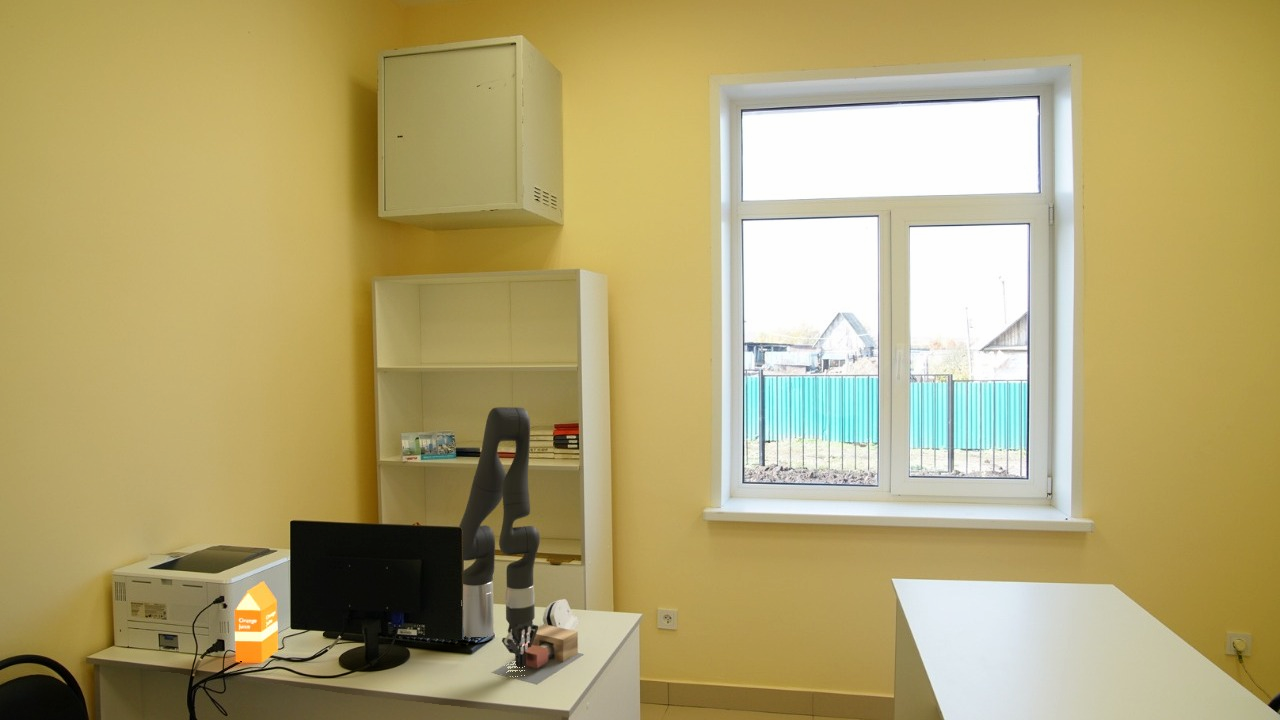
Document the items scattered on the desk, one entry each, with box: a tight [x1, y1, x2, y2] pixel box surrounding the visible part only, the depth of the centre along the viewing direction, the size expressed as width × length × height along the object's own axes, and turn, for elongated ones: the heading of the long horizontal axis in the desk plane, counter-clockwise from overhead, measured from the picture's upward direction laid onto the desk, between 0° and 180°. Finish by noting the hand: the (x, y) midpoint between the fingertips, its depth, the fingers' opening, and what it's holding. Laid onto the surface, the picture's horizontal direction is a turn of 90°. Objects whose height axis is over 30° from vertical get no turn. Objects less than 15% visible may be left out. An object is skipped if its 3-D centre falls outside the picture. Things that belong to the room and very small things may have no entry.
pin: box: [526, 642, 554, 668], centre depth 224 cm, size 15×7×5 cm, turn 150°
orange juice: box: [234, 581, 279, 664], centre depth 229 cm, size 8×9×20 cm
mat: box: [491, 652, 585, 685], centre depth 223 cm, size 15×22×1 cm
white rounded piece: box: [542, 598, 580, 631], centre depth 246 cm, size 17×5×10 cm, turn 170°
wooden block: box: [532, 624, 579, 663], centre depth 229 cm, size 11×7×6 cm, turn 60°
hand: (520, 666), depth 216 cm, fingers closed
